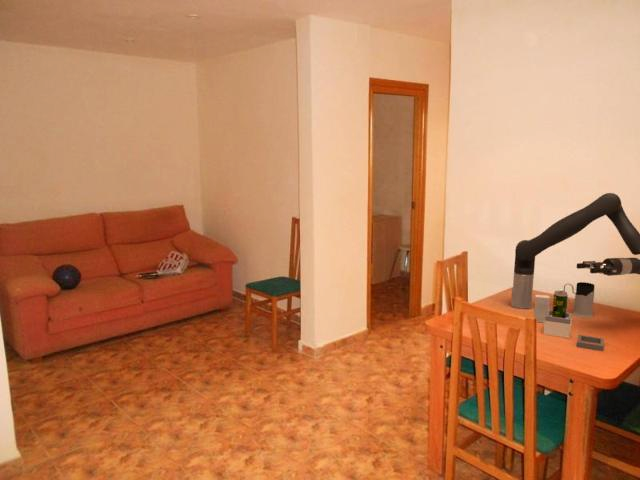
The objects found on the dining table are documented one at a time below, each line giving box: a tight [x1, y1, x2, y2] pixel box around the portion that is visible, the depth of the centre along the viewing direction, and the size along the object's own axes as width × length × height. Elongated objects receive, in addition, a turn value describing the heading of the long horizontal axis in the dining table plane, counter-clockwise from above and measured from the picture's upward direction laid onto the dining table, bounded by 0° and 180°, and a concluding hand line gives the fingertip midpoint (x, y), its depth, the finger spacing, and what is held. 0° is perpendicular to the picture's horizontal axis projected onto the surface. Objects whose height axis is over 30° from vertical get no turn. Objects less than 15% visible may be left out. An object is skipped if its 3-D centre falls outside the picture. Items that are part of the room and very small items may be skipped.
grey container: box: [563, 281, 595, 319], centre depth 249 cm, size 9×14×15 cm, turn 41°
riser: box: [543, 309, 573, 339], centre depth 225 cm, size 10×10×8 cm
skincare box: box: [533, 294, 551, 324], centre depth 239 cm, size 6×4×12 cm
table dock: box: [576, 334, 605, 352], centre depth 212 cm, size 9×9×2 cm
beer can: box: [552, 290, 569, 318], centre depth 224 cm, size 5×5×12 cm
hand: (583, 268), depth 222 cm, fingers open, 8 cm apart
